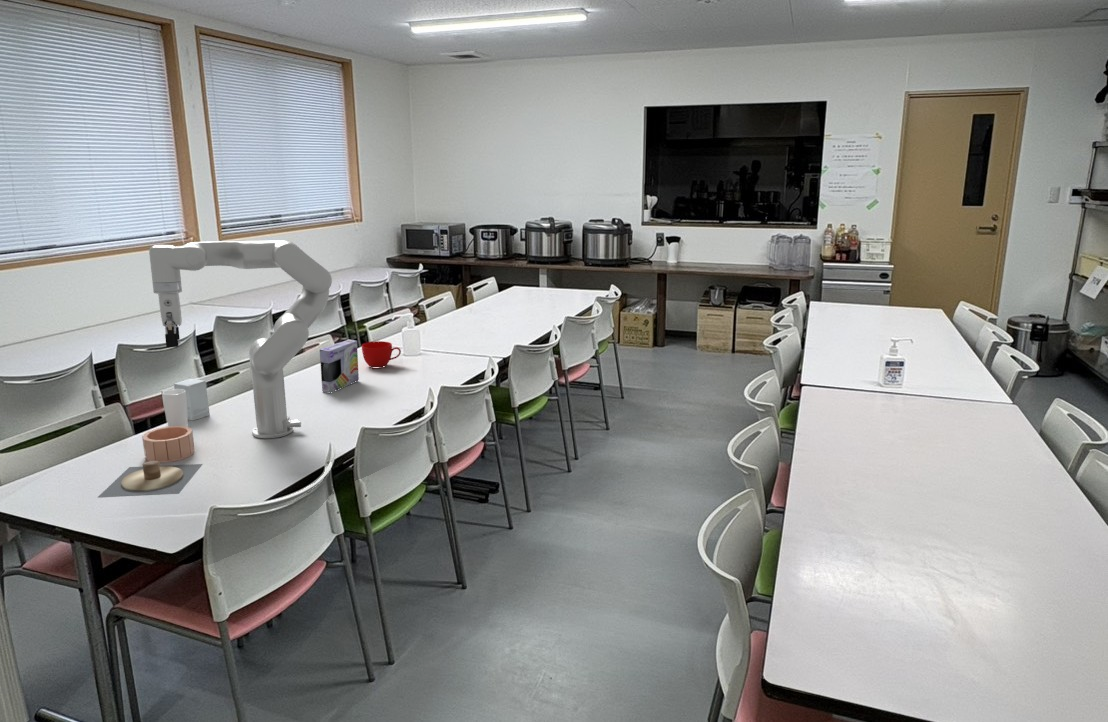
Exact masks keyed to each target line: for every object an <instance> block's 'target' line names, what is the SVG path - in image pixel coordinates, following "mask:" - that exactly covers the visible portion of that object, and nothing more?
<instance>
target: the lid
mask: <svg viewBox="0 0 1108 722" xmlns="http://www.w3.org/2000/svg"><path fill="white" fill-rule="evenodd" d="M142 466H143V469H142V470H139V471H136V472H133V473H131V474H129V475H127V476H126V477H124V478H123V479H122V481H121V484H122V487H123V488H124V489H126V490H130V491H150V490H156V489H160V488H164V487H167V486H170V485H172V484H174V483H176V482H178V481H179V480H181V479H182V477H183V471H182V470H181V469H180V468H177V467H171V466H165V465H160V463H159V462H158V461H146V462H143V463H142Z"/></svg>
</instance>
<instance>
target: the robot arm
mask: <svg viewBox="0 0 1108 722" xmlns="http://www.w3.org/2000/svg"><path fill="white" fill-rule="evenodd" d="M148 252H149V263H150V271H151V272H150V273H151V281H152V282H151V283H152V291H153V294H156V295H157V294H158V302H159V303H158V305H159V311H160V312H159V313H160V318H161V322H162V326H163V327H165V328H164V329H165V334H164V339H165V346H166V348H178V347H179V340H180V331H179V330H180V329H179V328H180V326H182V324H183V319H182V318H183V317H182V311H181V301H180V295H179V293H182V292H183V289H182V288H183V287H182V277H181V271H182V270H183V271H191V272H192V271H193V272H196V271H200V270H202V269H203V268H205V267H210V266H211V267H212V266H213V267H215V266H216V267H217V266H219V267H220V266H221V267H223V266H224V267H231V268H236V269H240V270H242V269H243V270H251V269H252V270H253V269H276V268H277V269H281V270H282V271H284V272H285V273H286V274H287V275H288V276H289V277H291V278H292V279H294V281H296V282H297V283H298V284H300V285H302V291H301V293H300V295H299V296H298V297H297V299H296V300H295V301H294V303H292V305H291V306H290V307H288V308H287V310H286V311H285V312H284V313H283V314H281V316H279V318H278V319H277V320H276V321H275V323H274V325H273V326H274V327H273V330H274V332H273V333H272V334H271V335H270V336H269V337H261V338H258V339H256V340H255V341H254V342H252V344H251V345H250V347H249V350H248V356H249V364H250V370H251V372H250V373H251V380H252V381H251V382H252V391H253V402H254V412H255V420H256V421H255V422H256V427H254V428H253V429H252V430H251V432H252V433H251V434H252V436H253V437H255V438H258V439H275V438H280V437H285V436H287V435H289V434H291V433H292V432H293V431H294V428H301V427H302V422H301V420H300V421H299V419H294V420H292V419H290V415H288V414H287V400H286V390H285V387H286V386H285V375H284V368H285V367H286V366H287V364H288V363H290V361H291V360H292V359H293V358H295V356H296V355H297V354H298V353H299V352H300V351H301V349H303V347H304V346H305V344H306V343H307V342H308V339H309V334H310V333H309V328H310V327H311V326H312V325H313V324H314V322H315V321H316V320H317V319H318V317H320V315H321V314H322V313H323V311H324V310H325V308H326V306H327V304H328V301H329V296H330V288H331V286H332V283H333V278H332V275H331V273H330V272H329V271H328V270H327V269H326V268H325V267H324V266H322V265H320V263H319V262H318V261H316V260H314V258H312V257H311V256H310V255H308V254H307V253H306V252H305V251H304V250H303V249H301V248H300V247H299V246H298V245H297V244H296V243H293V241H289V240H285V239H279V240H277V239H276V240H245V241H243V240H242V241H240V240H239V241H237V240H234V241H194V242H193V241H192V242H188V243H185V244H183V245H182V246H175V245H171V244H157V245H152V246H150V247H149V250H148Z"/></svg>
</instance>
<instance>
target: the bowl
mask: <svg viewBox="0 0 1108 722" xmlns="http://www.w3.org/2000/svg"><path fill="white" fill-rule="evenodd" d="M193 433H194V432H193V430H192V429H191V427H189V426H188V427H184V426H170V427H169V426H168V425H167V426H164V427H158V428H155V429H152V430H149V431H147V432H145V433H144V434H143V435H142V436H141V438H142V446H143V452H144V456H145V460H146V461H147V462H149V461H158V462H159V464H160V463H171V462H172V463H173V462H177V461H181V460H184V459H187V458H189V457H191V456H192V455H193V454H194V452H195V449H196V448H195V442H194V434H193Z"/></svg>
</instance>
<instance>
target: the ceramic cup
mask: <svg viewBox="0 0 1108 722" xmlns="http://www.w3.org/2000/svg"><path fill="white" fill-rule="evenodd" d="M394 350H398V354H397V355H396V356H394V357H393V356H392V353H393V352H394ZM401 352H402V350H401V348H400V347H397V346H396V347H393V343H391V342H389V341H383V340H382V341H380V340H379V341H378V340H377V341H375V340H374V341H368V342H364V343H363V344H361V353H362V356H363V359H364V361H365V363H366V365H368V367H370V366H371V367H383V366H385V367H386V366H387V365H388V364H389V362H390V361H391V360H395V359H397V358H399V357H400V355H401ZM371 367H370V368H371Z"/></svg>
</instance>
